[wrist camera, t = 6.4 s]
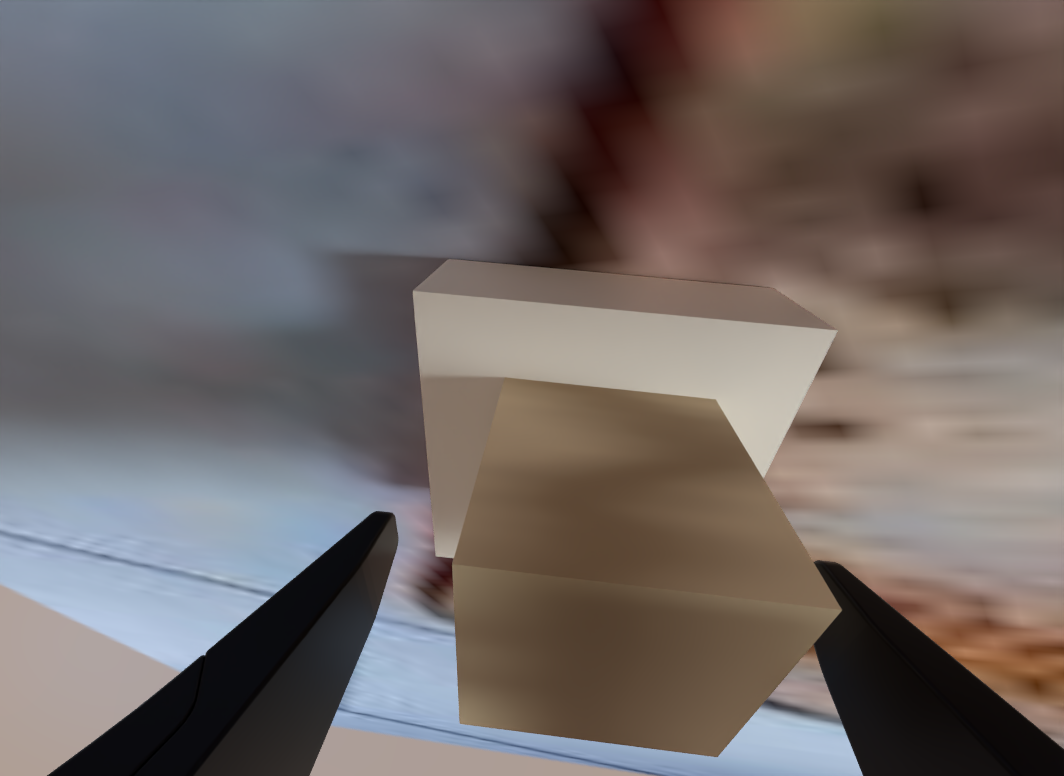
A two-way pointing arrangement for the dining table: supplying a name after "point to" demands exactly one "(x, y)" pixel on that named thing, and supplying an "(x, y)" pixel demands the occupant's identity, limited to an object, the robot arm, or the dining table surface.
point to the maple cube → (626, 573)
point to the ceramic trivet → (599, 356)
